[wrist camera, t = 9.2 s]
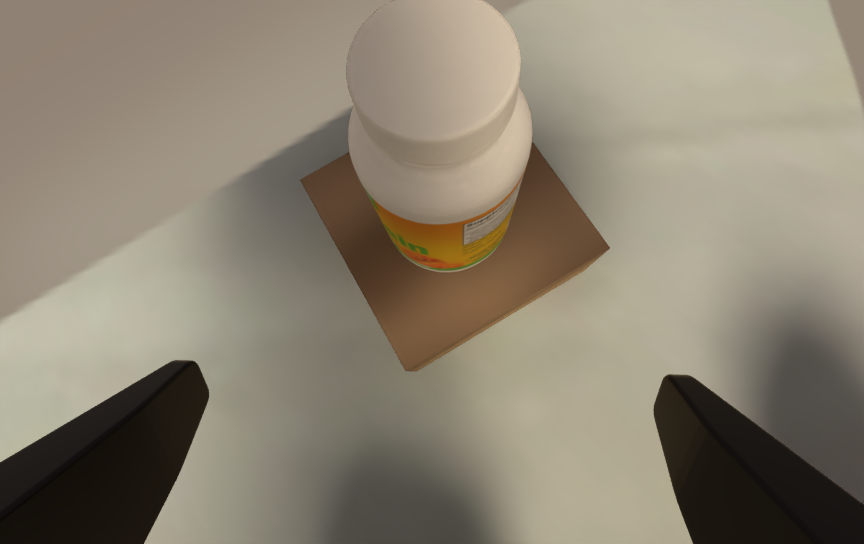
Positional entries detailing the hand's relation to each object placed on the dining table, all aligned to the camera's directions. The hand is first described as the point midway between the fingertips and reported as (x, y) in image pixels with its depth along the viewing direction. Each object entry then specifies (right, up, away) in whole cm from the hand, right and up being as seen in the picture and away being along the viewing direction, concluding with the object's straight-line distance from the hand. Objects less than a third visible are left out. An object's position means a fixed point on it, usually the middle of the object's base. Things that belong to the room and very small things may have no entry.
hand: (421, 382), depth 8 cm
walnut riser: (+1, +4, +15) cm, 15 cm away
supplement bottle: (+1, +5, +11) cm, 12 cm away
